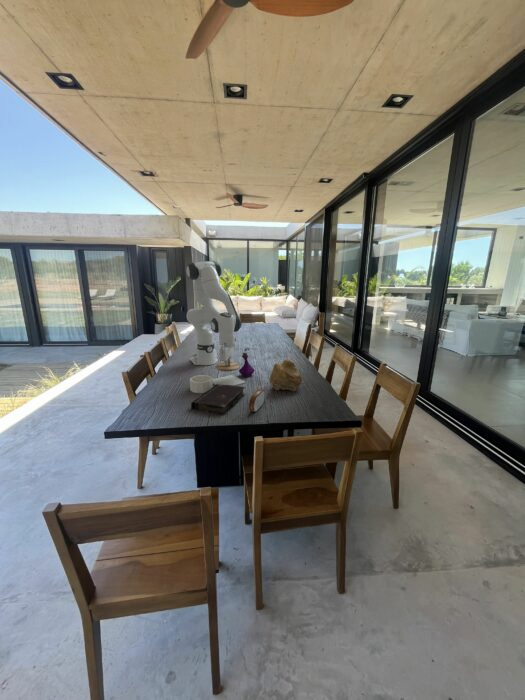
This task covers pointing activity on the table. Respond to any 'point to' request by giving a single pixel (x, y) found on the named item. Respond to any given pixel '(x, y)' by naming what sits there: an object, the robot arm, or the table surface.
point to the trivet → (228, 380)
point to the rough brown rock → (285, 376)
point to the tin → (257, 400)
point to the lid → (230, 367)
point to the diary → (219, 399)
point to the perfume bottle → (246, 366)
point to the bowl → (201, 383)
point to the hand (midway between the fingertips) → (227, 363)
